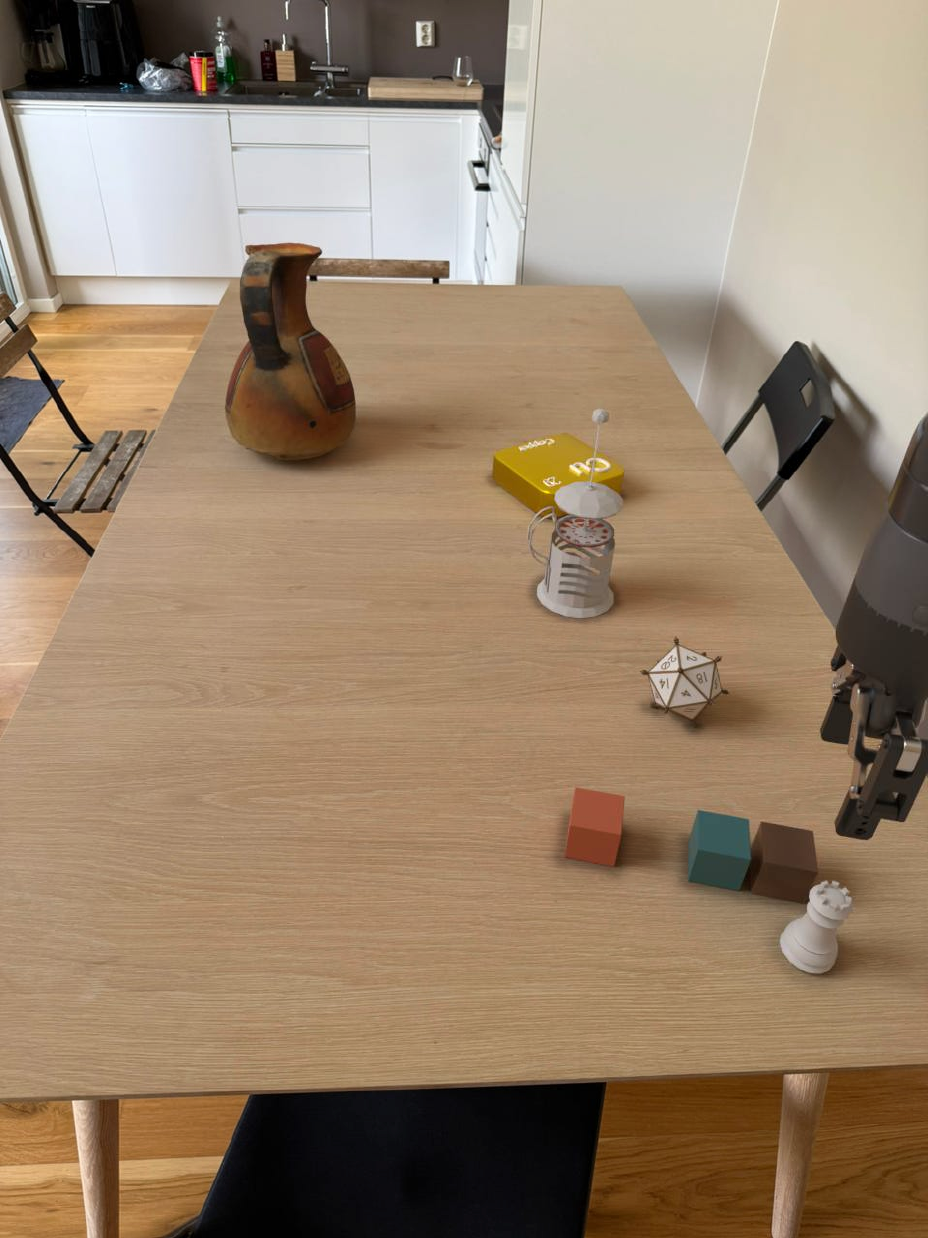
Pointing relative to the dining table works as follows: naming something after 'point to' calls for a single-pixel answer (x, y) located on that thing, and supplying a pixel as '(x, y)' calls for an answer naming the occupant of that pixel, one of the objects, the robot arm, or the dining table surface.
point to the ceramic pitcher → (286, 363)
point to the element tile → (551, 470)
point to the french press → (580, 547)
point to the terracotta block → (595, 827)
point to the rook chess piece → (817, 929)
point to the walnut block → (783, 862)
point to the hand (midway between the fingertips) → (842, 783)
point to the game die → (685, 682)
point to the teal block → (719, 850)
